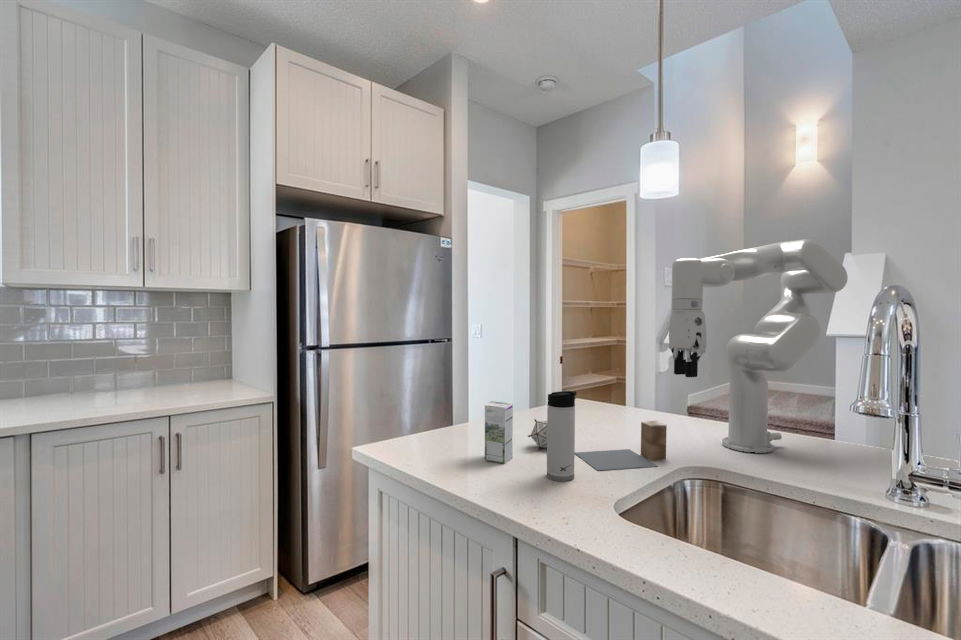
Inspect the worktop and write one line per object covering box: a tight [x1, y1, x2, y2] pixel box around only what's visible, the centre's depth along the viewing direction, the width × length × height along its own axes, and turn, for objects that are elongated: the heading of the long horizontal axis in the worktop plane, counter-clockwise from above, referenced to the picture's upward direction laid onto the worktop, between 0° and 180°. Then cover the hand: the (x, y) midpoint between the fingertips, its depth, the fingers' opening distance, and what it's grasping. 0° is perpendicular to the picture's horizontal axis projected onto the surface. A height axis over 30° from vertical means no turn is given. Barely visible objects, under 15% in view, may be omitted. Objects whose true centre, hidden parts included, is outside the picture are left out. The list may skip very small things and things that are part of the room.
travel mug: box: [546, 390, 578, 482], centre depth 112 cm, size 6×7×20 cm
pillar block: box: [640, 420, 668, 462], centre depth 127 cm, size 4×4×9 cm
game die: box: [527, 418, 547, 451], centre depth 135 cm, size 9×8×10 cm
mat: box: [574, 448, 659, 472], centre depth 125 cm, size 16×14×1 cm
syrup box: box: [484, 400, 514, 464], centre depth 125 cm, size 6×6×14 cm
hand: (685, 374), depth 128 cm, fingers open, 4 cm apart
